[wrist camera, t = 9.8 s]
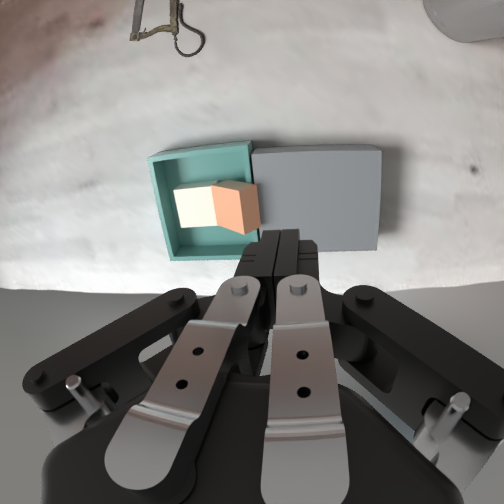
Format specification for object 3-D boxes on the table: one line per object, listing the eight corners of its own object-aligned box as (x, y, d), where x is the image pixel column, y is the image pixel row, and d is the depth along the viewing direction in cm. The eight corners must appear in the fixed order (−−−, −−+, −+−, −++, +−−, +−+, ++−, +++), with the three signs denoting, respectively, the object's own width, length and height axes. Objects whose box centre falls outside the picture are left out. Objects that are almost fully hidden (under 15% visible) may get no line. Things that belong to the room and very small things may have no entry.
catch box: (251, 140, 34) (247, 145, 31) (262, 245, 41) (259, 258, 38) (159, 152, 36) (147, 157, 33) (179, 248, 43) (170, 260, 40)
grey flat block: (372, 144, 32) (381, 150, 29) (369, 235, 38) (376, 250, 35) (255, 148, 35) (251, 154, 31) (264, 238, 40) (261, 253, 37)
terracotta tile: (256, 184, 32) (238, 190, 31) (261, 226, 35) (244, 234, 33) (227, 179, 36) (210, 185, 34) (233, 218, 38) (217, 224, 37)
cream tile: (173, 190, 35) (180, 184, 38) (181, 227, 38) (187, 219, 40) (212, 186, 34) (218, 180, 37) (219, 225, 37) (223, 217, 39)
